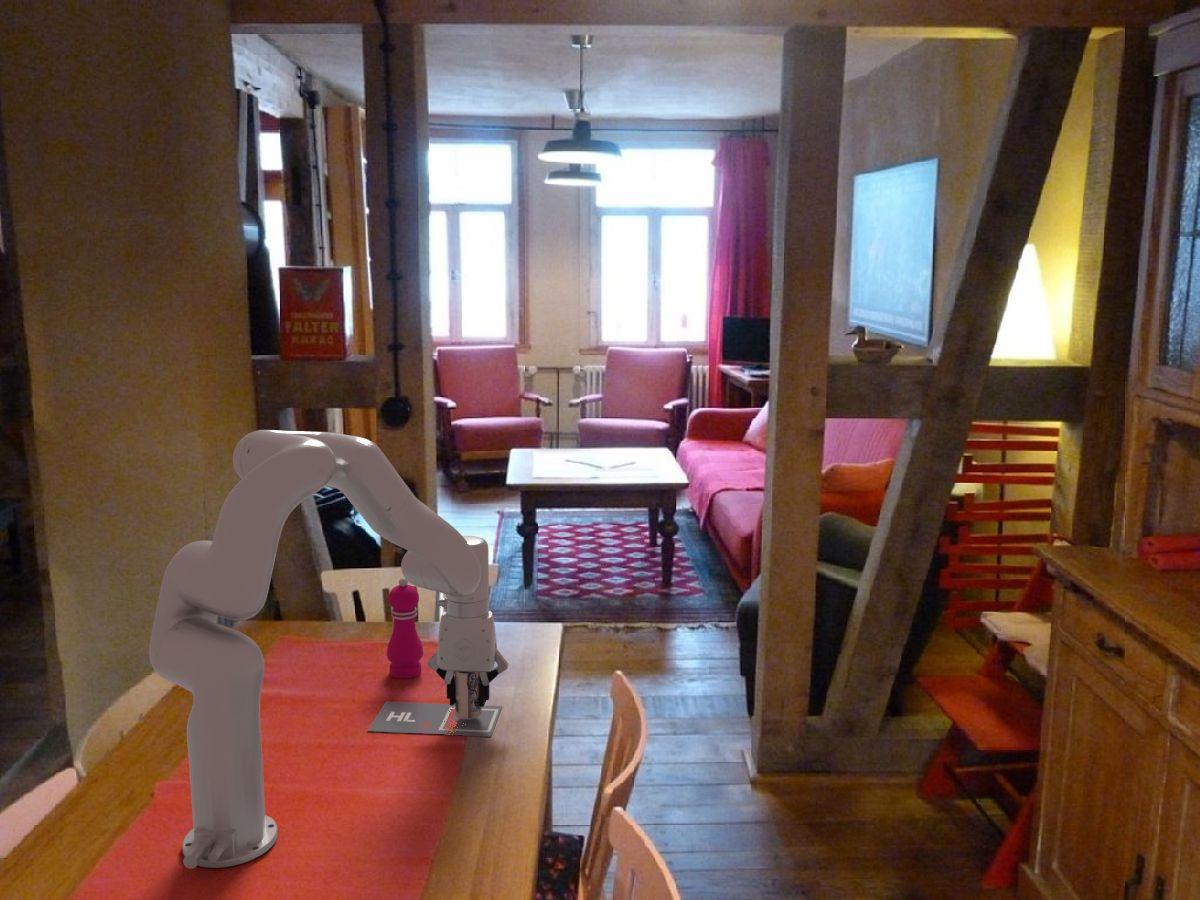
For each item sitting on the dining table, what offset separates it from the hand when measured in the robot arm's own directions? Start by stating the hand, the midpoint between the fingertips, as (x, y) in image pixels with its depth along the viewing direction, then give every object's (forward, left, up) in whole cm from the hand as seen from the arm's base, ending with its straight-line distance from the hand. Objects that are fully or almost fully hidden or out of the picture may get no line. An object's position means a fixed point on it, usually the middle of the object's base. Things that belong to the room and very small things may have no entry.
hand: (468, 701), depth 177 cm
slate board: (0, +6, -4) cm, 7 cm away
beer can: (0, 0, -3) cm, 3 cm away
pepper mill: (+20, +17, -4) cm, 27 cm away
